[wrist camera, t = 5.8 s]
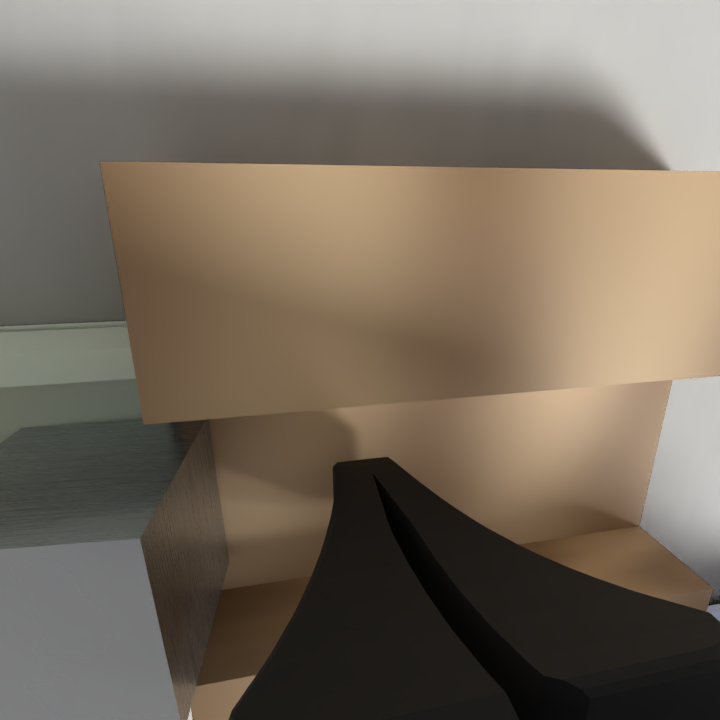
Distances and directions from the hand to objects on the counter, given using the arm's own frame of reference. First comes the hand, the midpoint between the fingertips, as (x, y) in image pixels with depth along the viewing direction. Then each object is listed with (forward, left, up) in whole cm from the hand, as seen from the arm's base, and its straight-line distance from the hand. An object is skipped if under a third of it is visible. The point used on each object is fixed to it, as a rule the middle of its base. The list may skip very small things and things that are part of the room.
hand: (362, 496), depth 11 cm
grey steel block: (+5, 0, -1) cm, 5 cm away
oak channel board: (-2, 0, -2) cm, 3 cm away
